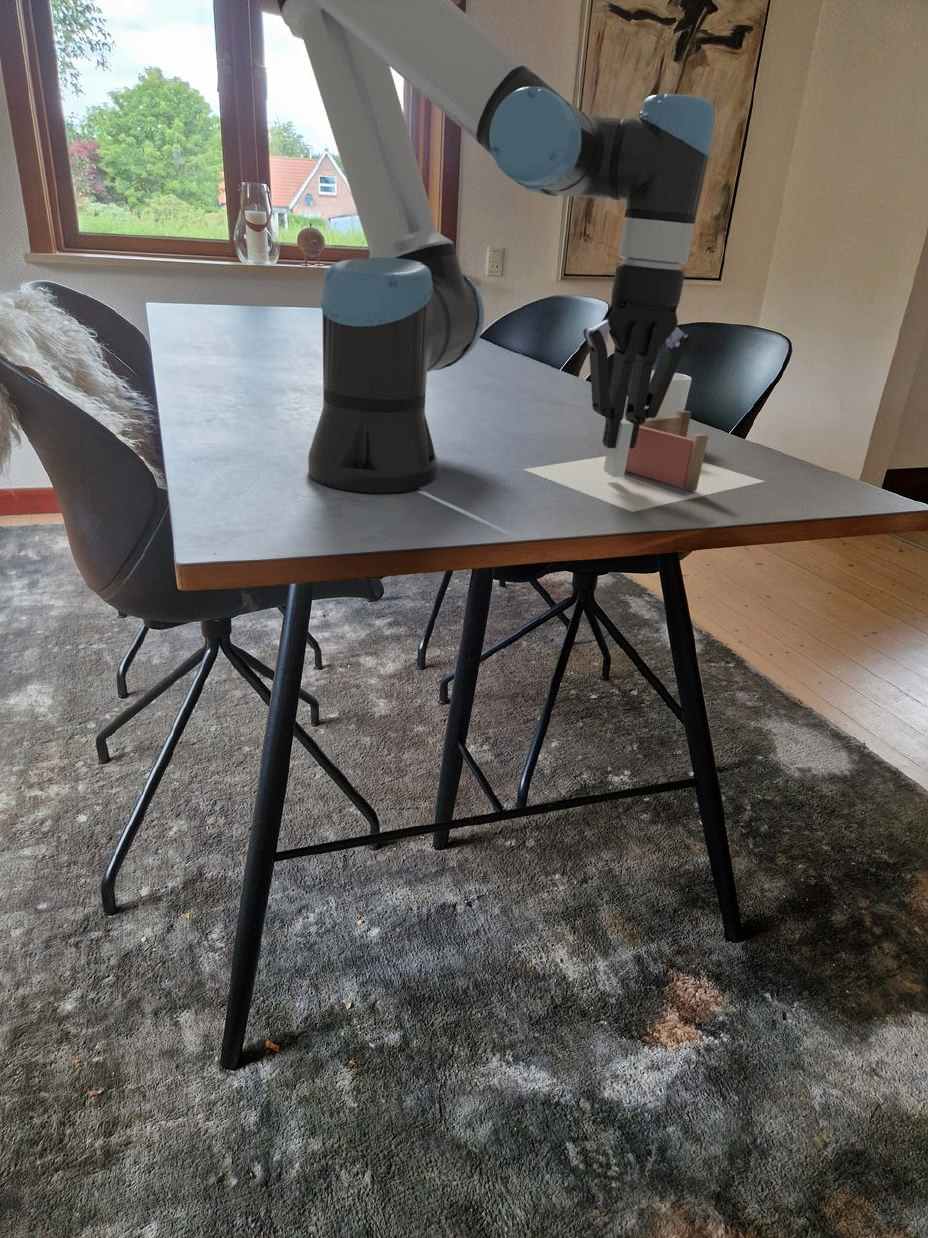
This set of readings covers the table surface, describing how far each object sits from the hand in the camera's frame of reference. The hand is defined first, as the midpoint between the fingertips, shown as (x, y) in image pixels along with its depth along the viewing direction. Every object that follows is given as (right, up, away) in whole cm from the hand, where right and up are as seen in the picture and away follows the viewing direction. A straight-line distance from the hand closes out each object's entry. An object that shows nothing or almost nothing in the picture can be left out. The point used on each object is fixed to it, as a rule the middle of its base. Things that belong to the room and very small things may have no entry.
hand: (613, 473), depth 97 cm
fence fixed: (+6, +3, +10) cm, 13 cm away
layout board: (+5, 0, +5) cm, 7 cm away
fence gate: (+6, 0, +2) cm, 7 cm away
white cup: (+11, +9, +24) cm, 28 cm away
